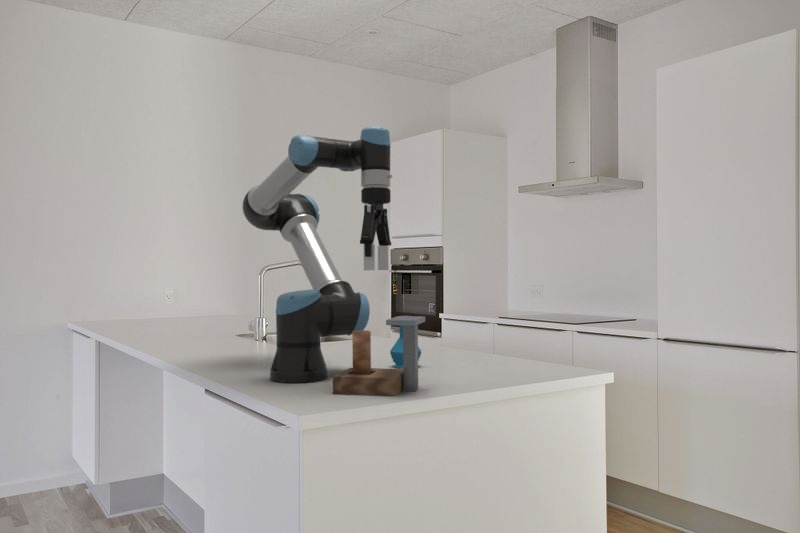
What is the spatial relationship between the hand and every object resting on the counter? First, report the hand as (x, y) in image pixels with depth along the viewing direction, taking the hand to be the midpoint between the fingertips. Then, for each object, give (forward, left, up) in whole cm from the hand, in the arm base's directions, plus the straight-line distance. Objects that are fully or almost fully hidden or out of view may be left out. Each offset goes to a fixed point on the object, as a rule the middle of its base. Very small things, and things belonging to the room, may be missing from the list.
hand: (376, 270), depth 173 cm
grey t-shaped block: (+10, -10, -29) cm, 32 cm away
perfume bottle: (+2, +26, -29) cm, 39 cm away
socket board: (+1, -11, -29) cm, 31 cm away
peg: (-1, -11, -29) cm, 31 cm away
